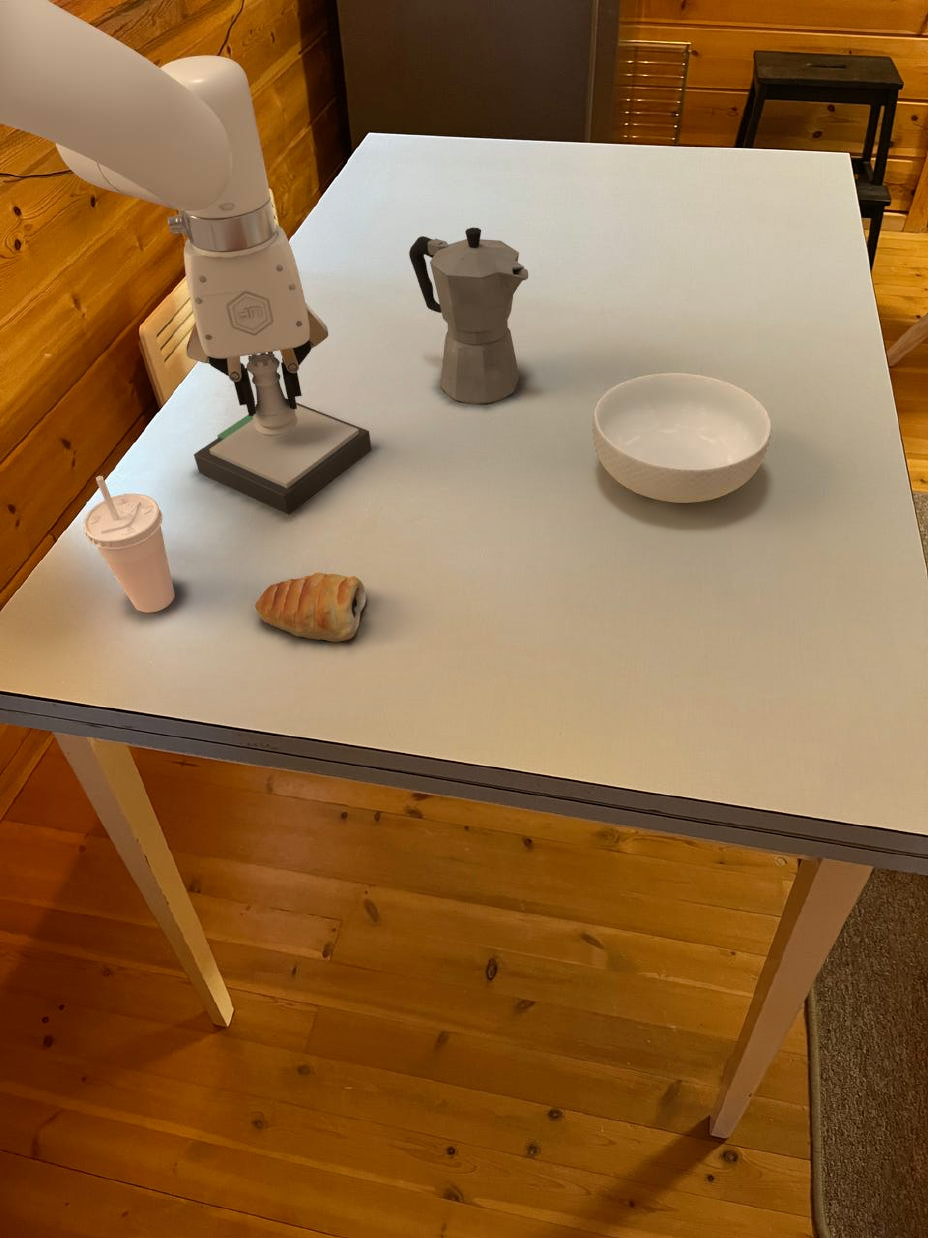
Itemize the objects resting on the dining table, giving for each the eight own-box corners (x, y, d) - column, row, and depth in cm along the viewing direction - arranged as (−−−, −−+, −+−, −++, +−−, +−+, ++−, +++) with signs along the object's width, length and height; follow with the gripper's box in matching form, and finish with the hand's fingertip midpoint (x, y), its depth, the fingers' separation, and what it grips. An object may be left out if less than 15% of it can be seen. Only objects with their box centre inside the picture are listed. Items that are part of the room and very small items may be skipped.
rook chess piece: (303, 414, 97) (289, 344, 91) (292, 439, 94) (277, 368, 88) (262, 413, 97) (245, 343, 91) (249, 437, 94) (231, 367, 88)
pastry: (250, 640, 80) (241, 609, 78) (270, 587, 85) (262, 556, 82) (356, 646, 79) (350, 614, 77) (371, 591, 84) (365, 560, 81)
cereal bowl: (795, 496, 90) (811, 436, 85) (650, 551, 86) (658, 490, 81) (692, 412, 101) (701, 353, 96) (559, 456, 97) (561, 397, 92)
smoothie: (103, 610, 84) (46, 486, 74) (150, 566, 88) (102, 443, 78) (157, 632, 82) (106, 507, 72) (203, 586, 85) (161, 462, 75)
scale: (199, 473, 98) (191, 449, 96) (283, 414, 105) (278, 390, 103) (288, 514, 92) (283, 490, 90) (371, 449, 99) (368, 425, 97)
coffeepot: (550, 381, 107) (552, 225, 94) (502, 420, 102) (498, 260, 89) (445, 345, 114) (434, 195, 101) (396, 380, 109) (378, 226, 96)
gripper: (133, 254, 77) (190, 439, 90) (330, 227, 79) (358, 412, 92) (136, 218, 82) (189, 398, 95) (321, 194, 84) (348, 374, 97)
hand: (272, 403), depth 93 cm, fingers closed on rook chess piece, 3 cm apart
